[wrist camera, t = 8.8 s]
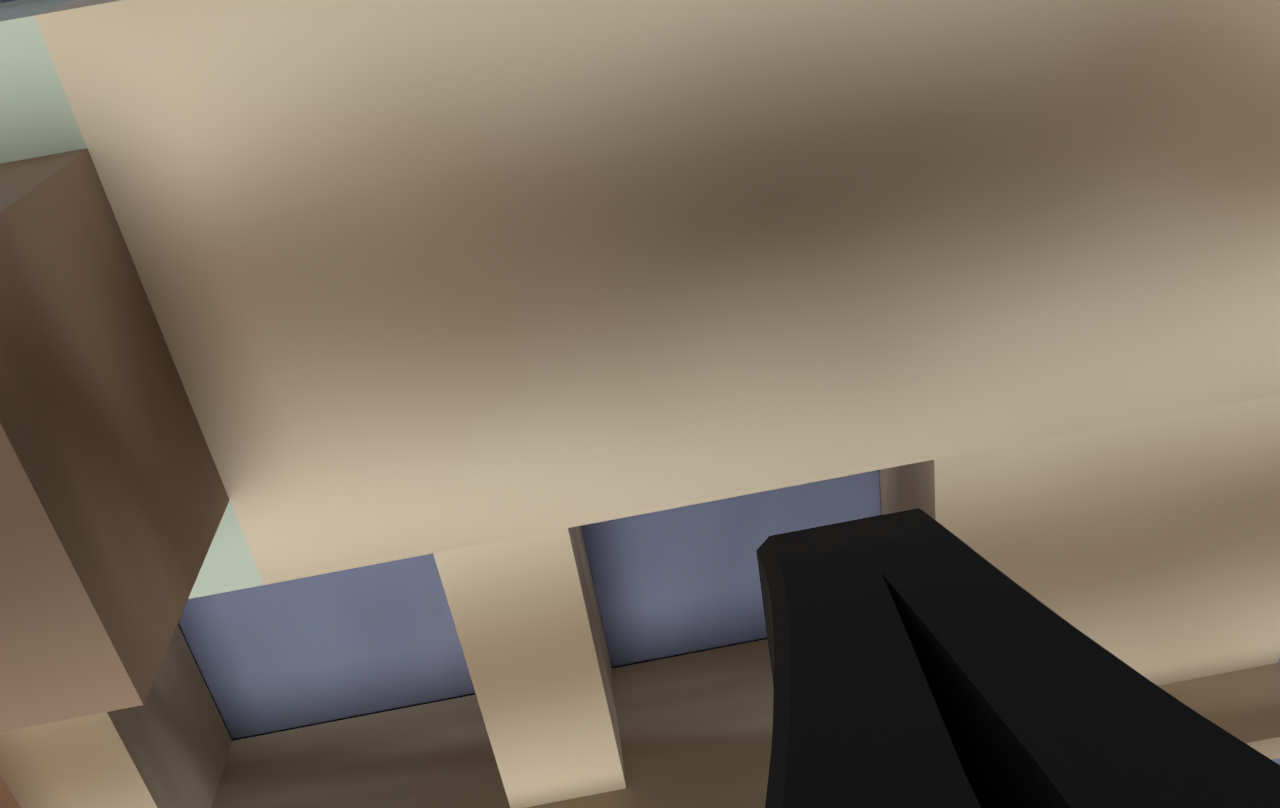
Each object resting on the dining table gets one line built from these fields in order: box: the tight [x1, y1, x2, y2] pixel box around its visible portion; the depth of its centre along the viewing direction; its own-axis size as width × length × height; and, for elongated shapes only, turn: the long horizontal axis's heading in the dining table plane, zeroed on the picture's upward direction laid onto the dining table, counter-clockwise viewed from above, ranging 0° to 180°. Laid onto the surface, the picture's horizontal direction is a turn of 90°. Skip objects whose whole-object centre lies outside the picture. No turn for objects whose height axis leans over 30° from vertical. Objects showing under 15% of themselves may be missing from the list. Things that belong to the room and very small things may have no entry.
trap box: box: [0, 0, 1280, 808], centre depth 15 cm, size 14×22×6 cm, turn 99°
